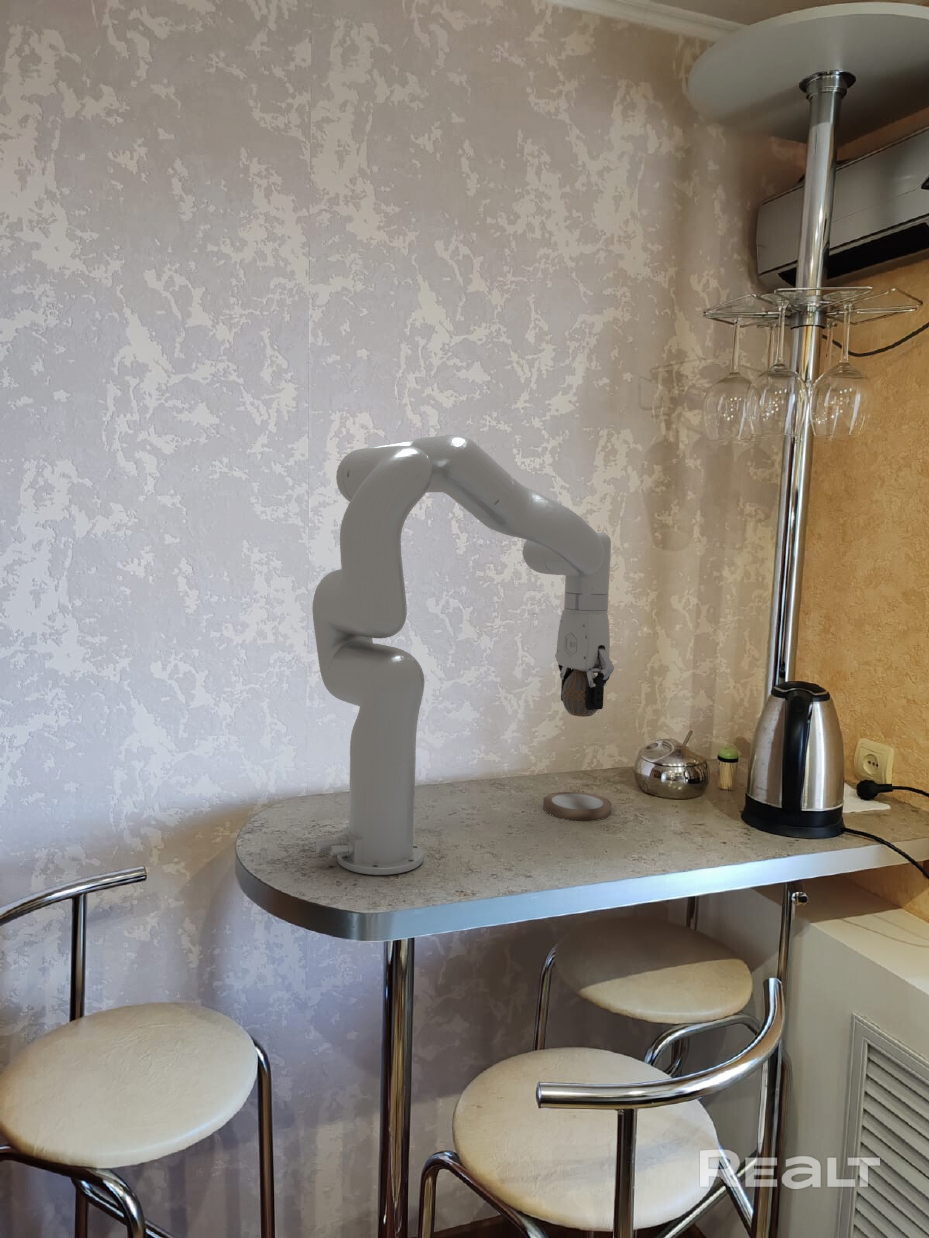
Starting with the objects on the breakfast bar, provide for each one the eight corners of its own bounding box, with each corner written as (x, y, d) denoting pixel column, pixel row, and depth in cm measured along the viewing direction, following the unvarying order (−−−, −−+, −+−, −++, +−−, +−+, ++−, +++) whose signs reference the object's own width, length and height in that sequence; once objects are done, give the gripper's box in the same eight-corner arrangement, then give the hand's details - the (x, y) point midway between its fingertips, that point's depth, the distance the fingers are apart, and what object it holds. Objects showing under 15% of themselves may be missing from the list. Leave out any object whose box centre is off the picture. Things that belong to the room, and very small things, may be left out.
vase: (607, 714, 157) (609, 664, 156) (591, 720, 151) (593, 669, 150) (571, 708, 160) (573, 660, 160) (554, 714, 155) (556, 664, 154)
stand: (567, 824, 149) (568, 815, 149) (530, 804, 160) (530, 795, 160) (625, 815, 155) (625, 807, 155) (585, 796, 165) (585, 788, 165)
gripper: (540, 599, 160) (536, 697, 161) (598, 608, 144) (592, 716, 146) (575, 599, 163) (571, 695, 165) (634, 608, 148) (629, 713, 150)
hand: (581, 704), depth 155 cm, fingers closed on vase, 6 cm apart
